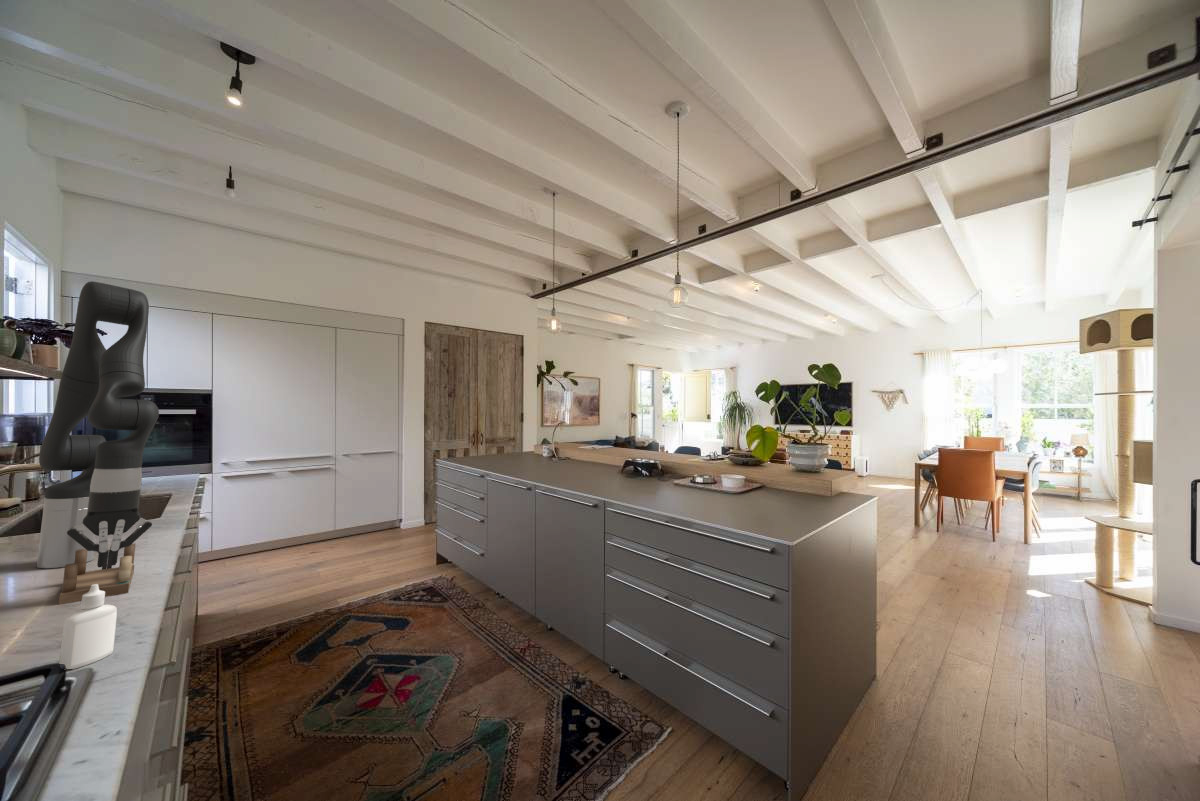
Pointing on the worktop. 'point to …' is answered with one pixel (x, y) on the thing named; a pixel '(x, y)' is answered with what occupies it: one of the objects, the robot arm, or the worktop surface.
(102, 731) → the worktop surface
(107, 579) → the wooden peg rack
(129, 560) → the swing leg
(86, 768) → the worktop surface
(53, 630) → the worktop surface
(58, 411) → the robot arm
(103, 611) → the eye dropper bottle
